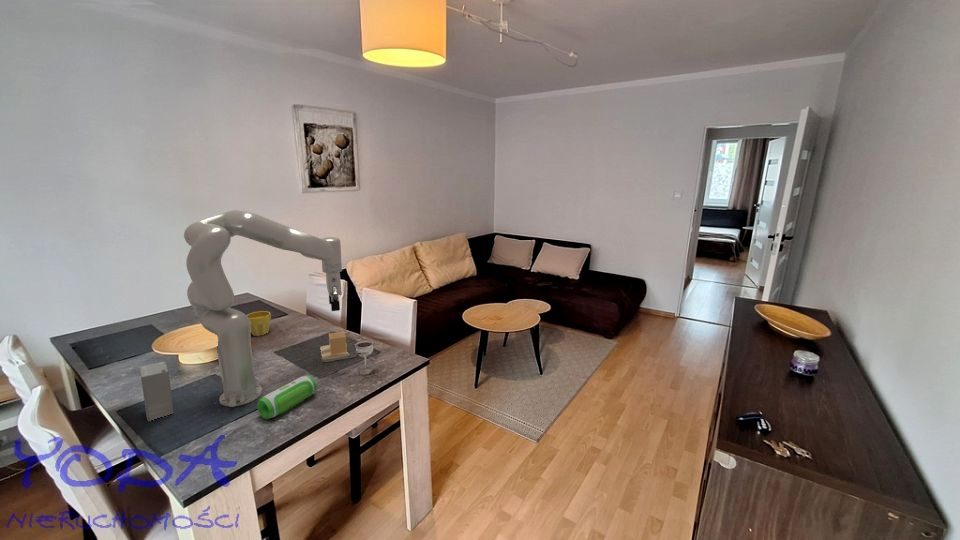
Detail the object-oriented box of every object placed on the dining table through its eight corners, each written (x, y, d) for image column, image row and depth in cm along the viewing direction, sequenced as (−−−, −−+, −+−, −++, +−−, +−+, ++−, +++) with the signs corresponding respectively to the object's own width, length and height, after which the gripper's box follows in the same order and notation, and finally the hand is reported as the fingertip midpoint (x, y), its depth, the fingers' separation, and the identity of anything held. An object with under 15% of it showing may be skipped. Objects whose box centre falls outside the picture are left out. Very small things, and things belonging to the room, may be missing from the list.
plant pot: (251, 330, 183) (248, 311, 181) (274, 328, 186) (272, 310, 184) (245, 338, 174) (242, 319, 171) (270, 336, 177) (267, 317, 174)
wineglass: (369, 377, 143) (368, 348, 140) (353, 374, 144) (351, 346, 142) (377, 368, 150) (376, 341, 147) (362, 366, 151) (360, 339, 148)
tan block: (347, 351, 160) (346, 336, 158) (331, 354, 157) (330, 339, 156) (345, 345, 166) (344, 331, 164) (329, 348, 163) (328, 333, 161)
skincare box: (145, 411, 120) (135, 366, 116) (173, 402, 125) (165, 359, 121) (147, 423, 114) (137, 377, 110) (177, 413, 119) (168, 369, 115)
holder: (357, 357, 159) (357, 344, 157) (322, 363, 153) (321, 350, 151) (353, 344, 171) (352, 331, 170) (320, 349, 165) (319, 337, 163)
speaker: (304, 390, 134) (302, 371, 132) (318, 395, 130) (317, 376, 129) (257, 416, 119) (254, 395, 117) (271, 423, 115) (269, 402, 114)
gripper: (344, 271, 147) (346, 312, 151) (339, 262, 162) (341, 300, 166) (323, 273, 143) (326, 314, 147) (320, 264, 158) (323, 302, 162)
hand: (334, 307), depth 156 cm, fingers open, 9 cm apart
